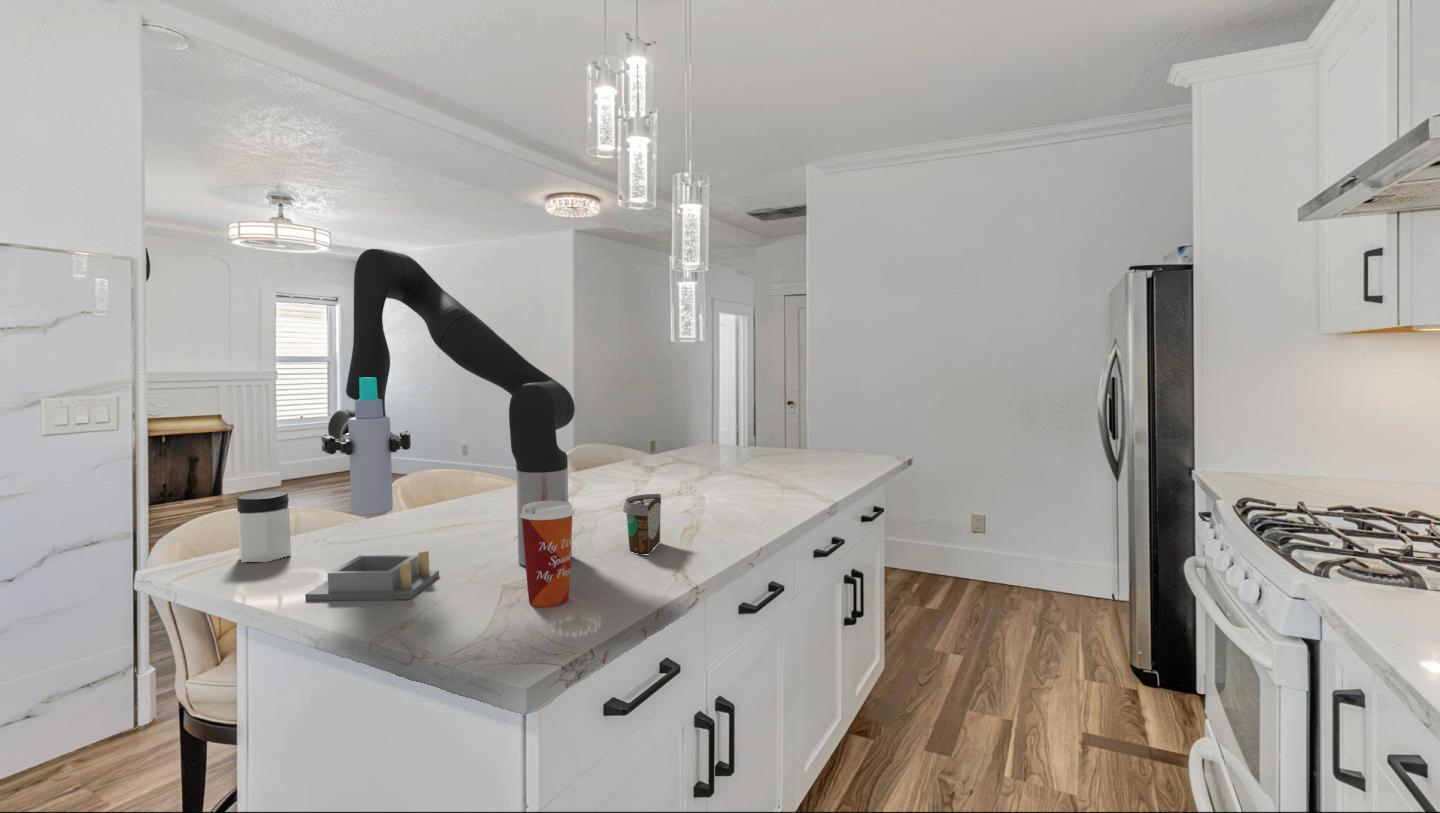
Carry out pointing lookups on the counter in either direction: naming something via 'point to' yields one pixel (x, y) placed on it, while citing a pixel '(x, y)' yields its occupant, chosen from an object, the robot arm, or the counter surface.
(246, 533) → the jar
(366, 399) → the spray bottle
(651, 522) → the food container
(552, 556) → the coffee cup
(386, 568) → the dock
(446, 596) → the counter surface
